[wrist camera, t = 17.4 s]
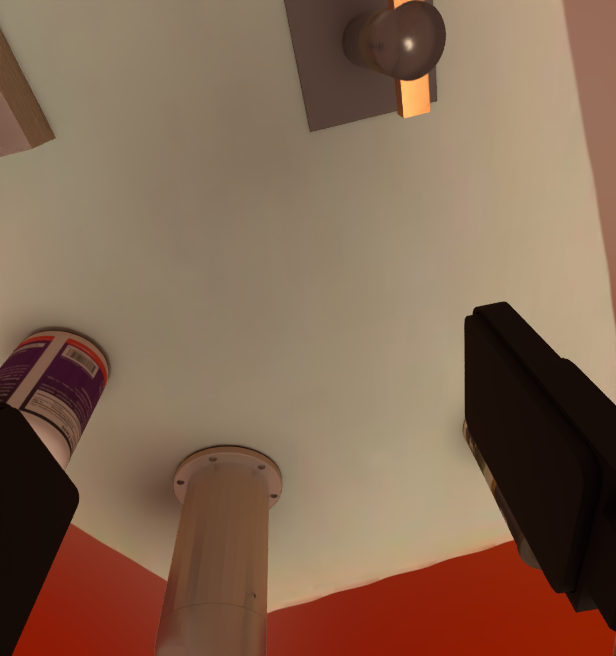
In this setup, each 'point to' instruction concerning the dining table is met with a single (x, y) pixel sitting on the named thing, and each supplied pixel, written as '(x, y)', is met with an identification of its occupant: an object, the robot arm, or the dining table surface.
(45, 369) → the pill bottle
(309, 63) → the mat
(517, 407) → the robot arm
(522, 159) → the dining table surface
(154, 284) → the dining table surface
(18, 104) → the socket block
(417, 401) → the dining table surface
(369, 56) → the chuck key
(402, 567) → the dining table surface
